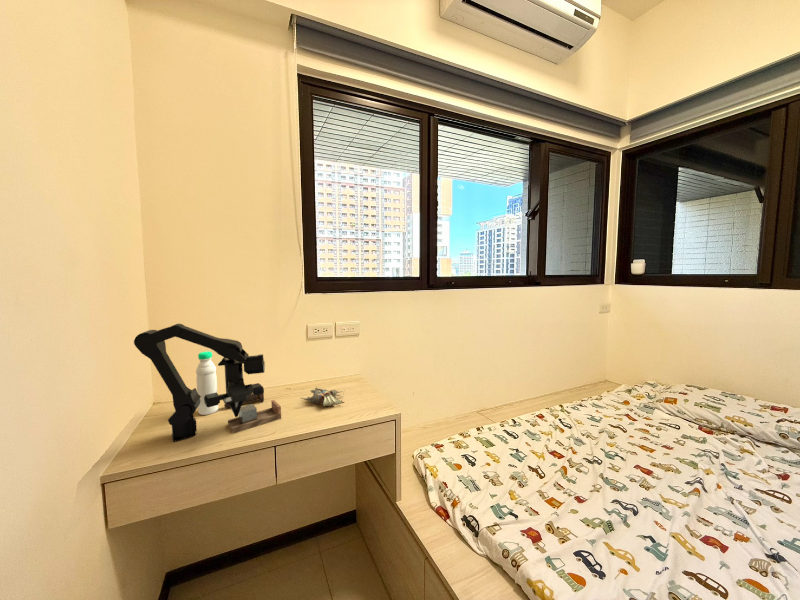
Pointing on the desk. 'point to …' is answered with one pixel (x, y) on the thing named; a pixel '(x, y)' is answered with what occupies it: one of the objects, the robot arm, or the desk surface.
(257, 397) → the bolt
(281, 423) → the desk surface
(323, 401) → the figurine
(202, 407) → the water bottle
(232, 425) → the track
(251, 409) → the block
